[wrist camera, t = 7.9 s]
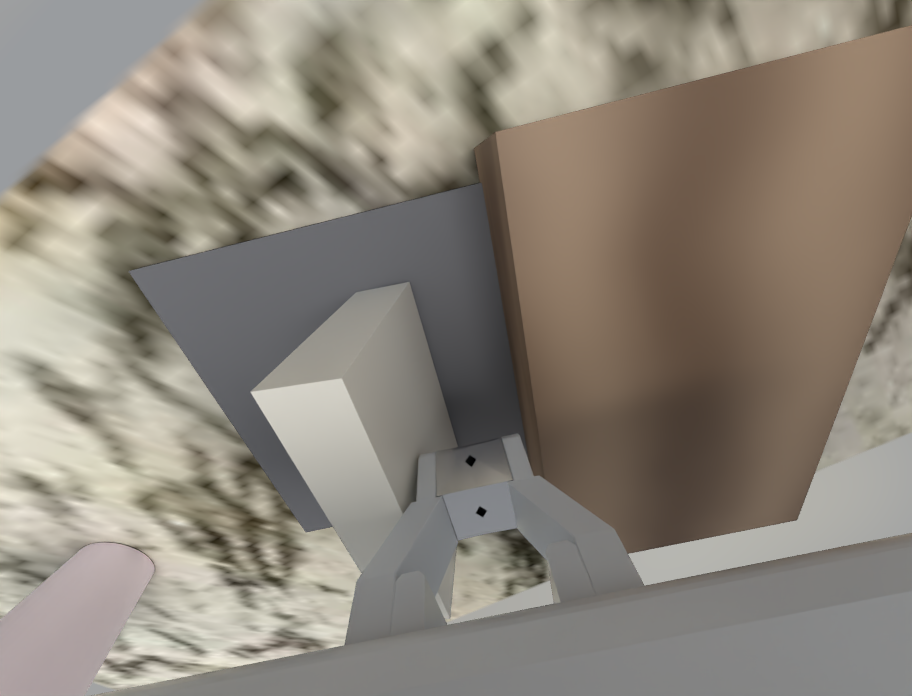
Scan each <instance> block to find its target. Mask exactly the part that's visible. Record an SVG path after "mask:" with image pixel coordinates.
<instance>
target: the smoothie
mask: <svg viewBox="0 0 912 696" xmlns="http://www.w3.org/2000/svg"><path fill="white" fill-rule="evenodd" d="M154 571H155V567H154V564H153V562H152V561H151V560H150V558H149V557H147V556H146V555H145V554H144V553H142V552H140V551H138V550H136V549H134V548H132V547H129V546H126V545H122V544H117V543H107V542H102V543H93V544H90V545H87V546H85V547H83V548H82V549H80V550H79V551H78V552H77V553H76V554H75V555H74V556H72V557H71V558H70V559H69V560H68V561H67V562H66V563H64V564H63V565H62V566H61V567H60V568H59V569H58V570H56V571H55V572H54V573H53V574H52V575H51V576H50V577H48V578H47V579H46V580H45V581H44V582H43V583H42V584H40V585H39V586H38V587H37V588H36V589H35V590H34V591H32V592H31V593H30V594H29V595H28V596H27V597H26V598H24V599H23V600H22V601H21V602H20V603H19V604H18V605H16V606H15V607H14V608H13V609H12V610H11V611H10V612H8V613H7V614H6V615H5V616H4V617H3V618H2V619H0V696H85V694H86V692H87V690H88V689H89V687H90V685H91V683H92V682H93V680H94V678H95V676H96V674H97V673H98V671H99V669H100V667H101V666H102V664H103V662H104V660H105V659H106V657H107V655H108V653H109V651H110V650H111V648H112V646H113V644H114V643H115V641H116V639H117V637H118V636H119V634H120V632H121V630H122V628H123V627H124V625H125V623H126V621H127V620H128V618H129V616H130V614H131V613H132V611H133V609H134V607H135V605H136V604H137V602H138V600H139V598H140V597H141V595H142V593H143V591H144V590H145V588H146V586H147V584H148V582H149V581H150V579H151V577H152V575H153V574H154Z"/></svg>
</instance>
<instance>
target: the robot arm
mask: <svg viewBox="0 0 912 696" xmlns="http://www.w3.org/2000/svg"><path fill="white" fill-rule="evenodd" d="M515 528H518V530H519V531H520V532H521V533H522V534H523V535H524V537H525V538H526V539H527V540H528V541H529V542H530V543H531V544H532V545H533V546H534V547H535V548H536V549H537V551H538V552H539V553H540V554H541V555H542V556H543V557H544V558H545V559H546V560H547V564H548V570H549V576H550V582H551V589H552V595H553V601H554V604H550V605H545V606H540V607H535V608H530V609H525V610H520V611H515V612H510V613H505V614H500V615H495V616H490V617H485V618H480V619H475V620H470V621H465V622H460V623H455V624H450V625H447V623H446V621H445V619H444V616H443V614H442V612H441V610H440V608H439V605H438V603H437V601H436V599H435V597H436V594H437V592H438V589H439V587H440V585H441V582H442V580H443V577H444V575H445V573H446V570H447V568H448V565H449V563H450V561H451V558H452V556H453V554H454V551H455V549H456V546H457V544H458V540H462V539H466V538H470V537H474V536H478V535H483V534H487V533H492V532H498V531H504V530H509V529H515ZM91 696H912V533H909V534H904V535H898V536H893V537H888V538H883V539H878V540H873V541H868V542H863V543H858V544H853V545H848V546H843V547H838V548H833V549H828V550H823V551H818V552H813V553H808V554H802V555H797V556H792V557H787V558H782V559H777V560H773V561H767V562H762V563H757V564H752V565H747V566H742V567H737V568H732V569H727V570H722V571H717V572H712V573H707V574H702V575H697V576H692V577H687V578H682V579H676V580H671V581H666V582H662V583H657V584H651V585H646V586H644V584H643V582H642V580H641V578H640V576H639V574H638V572H637V570H636V569H635V567H634V565H633V563H632V561H631V559H630V557H629V555H628V553H627V552H626V550H625V548H624V546H623V544H622V542H621V540H620V538H619V536H618V535H617V533H616V531H615V529H614V528H612V527H611V526H610V525H608V524H607V523H605V522H604V521H603V520H601V519H600V518H598V517H597V516H596V515H594V514H593V513H591V512H590V511H589V510H587V509H586V508H584V507H583V506H582V505H580V504H579V503H577V502H576V501H575V500H573V499H572V498H570V497H569V496H568V495H566V494H565V493H563V492H562V491H561V490H559V489H558V488H556V487H555V486H554V485H552V484H551V483H549V482H548V481H547V480H545V479H544V478H542V477H541V476H540V475H538V476H534V475H533V472H532V469H531V466H530V463H529V461H528V458H527V455H526V452H525V449H524V446H523V444H522V441H521V438H520V435H519V434H518V433H517V434H513V435H508V436H504V437H502V439H501V438H496V439H492V440H488V441H483V442H479V443H474V444H470V445H466V446H461V447H455V448H450V449H445V450H440V451H436V452H432V453H426V454H421V455H420V456H419V458H418V475H417V496H416V502H412V503H411V504H410V505H409V506H408V508H407V509H406V511H405V512H404V514H403V515H402V517H401V518H400V519H399V521H398V522H397V524H396V525H395V527H394V528H393V530H392V531H391V532H390V534H389V535H388V537H387V538H386V540H385V541H384V543H383V544H382V545H381V547H380V548H379V550H378V551H377V553H376V554H375V556H374V557H373V558H372V560H371V561H370V563H369V564H368V566H367V567H366V569H365V570H364V571H363V573H362V574H361V576H360V577H359V579H358V580H357V582H356V588H355V593H354V598H353V603H352V609H351V614H350V619H349V624H348V630H347V635H346V640H345V645H344V646H339V647H334V648H329V649H324V650H319V651H314V652H309V653H304V654H299V655H294V656H289V657H284V658H279V659H274V660H269V661H263V662H258V663H253V664H248V665H243V666H238V667H233V668H228V669H223V670H218V671H213V672H208V673H203V674H198V675H193V676H188V677H183V678H177V679H172V680H167V681H162V682H157V683H152V684H147V685H142V686H137V687H132V688H127V689H122V690H117V691H112V692H106V693H101V694H96V695H91Z"/></svg>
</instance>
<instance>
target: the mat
mask: <svg viewBox="0 0 912 696" xmlns="http://www.w3.org/2000/svg"><path fill="white" fill-rule="evenodd" d="M129 273H130V274H131V276H132V277H133V279H134V280H135V282H136V283H137V285H138V286H139V288H140V289H141V291H142V292H143V293H144V295H145V296H146V298H147V299H148V301H149V302H150V304H151V305H152V307H153V308H154V310H155V311H156V313H157V314H158V316H159V317H160V318H161V320H162V321H163V323H164V324H165V326H166V327H167V329H168V330H169V332H170V333H171V335H172V336H173V338H174V339H175V341H176V342H177V344H178V345H179V346H180V348H181V349H182V351H183V352H184V354H185V355H186V357H187V358H188V360H189V361H190V363H191V364H192V366H193V367H194V369H195V370H196V372H197V373H198V374H199V376H200V377H201V379H202V380H203V382H204V383H205V385H206V386H207V388H208V389H209V391H210V392H211V394H212V395H213V397H214V398H215V399H216V401H217V402H218V404H219V405H220V407H221V408H222V410H223V411H224V413H225V414H226V416H227V417H228V419H229V420H230V422H231V423H232V425H233V426H234V427H235V429H236V430H237V432H238V433H239V435H240V436H241V438H242V439H243V441H244V442H245V444H246V445H247V447H248V448H249V450H250V451H251V452H252V454H253V455H254V457H255V458H256V460H257V461H258V463H259V464H260V466H261V467H262V469H263V470H264V472H265V473H266V475H267V476H268V478H269V479H270V480H271V482H272V483H273V485H274V486H275V488H276V489H277V491H278V492H279V494H280V495H281V497H282V498H283V500H284V501H285V503H286V504H287V506H288V507H289V508H290V510H291V511H292V513H293V514H294V516H295V517H296V519H297V520H298V522H299V523H300V525H301V526H302V528H303V529H304V531H305V532H310V531H315V530H320V529H325V528H329V527H333V526H332V524H331V523H330V521H329V519H328V518H327V516H326V515H325V513H324V511H323V510H322V508H321V506H320V505H319V503H318V502H317V500H316V498H315V497H314V495H313V493H312V492H311V490H310V488H309V487H308V485H307V484H306V482H305V480H304V479H303V477H302V475H301V474H300V472H299V471H298V469H297V467H296V466H295V464H294V462H293V461H292V459H291V457H290V456H289V454H288V453H287V451H286V449H285V448H284V446H283V444H282V443H281V441H280V440H279V438H278V436H277V435H276V433H275V431H274V430H273V428H272V426H271V425H270V423H269V422H268V420H267V418H266V417H265V415H264V413H263V412H262V410H261V409H260V407H259V405H258V404H257V402H256V400H255V399H254V397H253V396H252V394H251V391H252V390H253V389H254V388H255V387H256V386H257V385H258V384H259V383H260V382H261V381H262V380H264V379H265V378H266V377H267V376H268V375H269V374H270V373H271V372H272V371H273V370H274V369H275V368H276V367H277V366H278V365H279V364H281V363H282V362H283V361H284V360H285V359H286V358H287V357H288V356H289V355H290V354H291V353H292V352H293V351H294V350H295V349H296V348H298V347H299V346H300V345H301V344H302V343H303V342H304V341H305V340H306V339H307V338H308V337H309V336H310V335H311V334H312V333H313V332H315V331H316V330H317V329H318V328H319V327H320V326H321V325H322V324H323V323H324V322H325V321H326V320H327V319H328V318H329V317H330V316H332V315H333V314H334V313H335V312H336V311H337V310H338V309H339V308H340V307H341V306H342V305H343V304H344V303H345V302H346V301H347V300H348V299H350V298H351V297H352V296H353V295H354V294H355V293H356V292H360V291H365V290H370V289H375V288H380V287H385V286H390V285H396V284H401V283H406V282H410V286H411V289H412V292H413V296H414V299H415V303H416V306H417V309H418V313H419V316H420V320H421V323H422V326H423V330H424V333H425V337H426V340H427V343H428V347H429V350H430V354H431V357H432V360H433V364H434V367H435V371H436V374H437V377H438V381H439V384H440V388H441V391H442V394H443V398H444V401H445V405H446V408H447V411H448V415H449V418H450V421H451V425H452V428H453V432H454V435H455V438H456V442H457V445H458V447H461V446H466V445H470V444H474V443H479V442H483V441H488V440H492V439H496V438H501V439H502V437H504V436H508V435H513V434H517V433H518V434H519V435H520V438H521V441H522V444H523V446H524V449H525V452H526V455H527V458H528V453H527V447H526V441H525V435H524V430H523V424H522V418H521V412H520V406H519V400H518V394H517V388H516V382H515V376H514V370H513V364H512V358H511V353H510V347H509V341H508V335H507V329H506V323H505V317H504V311H503V305H502V299H501V293H500V287H499V281H498V276H497V270H496V264H495V258H494V252H493V246H492V240H491V234H490V228H489V222H488V216H487V210H486V204H485V198H484V193H483V187H482V183H477V184H473V185H469V186H465V187H461V188H457V189H453V190H449V191H445V192H441V193H437V194H433V195H429V196H425V197H421V198H417V199H413V200H409V201H405V202H401V203H397V204H393V205H389V206H385V207H381V208H377V209H373V210H369V211H365V212H361V213H357V214H353V215H349V216H345V217H341V218H337V219H333V220H329V221H325V222H321V223H317V224H313V225H309V226H305V227H301V228H297V229H293V230H289V231H285V232H281V233H277V234H273V235H269V236H265V237H261V238H257V239H253V240H249V241H245V242H241V243H237V244H233V245H229V246H225V247H221V248H217V249H213V250H209V251H205V252H201V253H197V254H193V255H190V256H186V257H182V258H178V259H174V260H170V261H166V262H162V263H158V264H154V265H150V266H146V267H142V268H138V269H135V270H131V271H129ZM528 461H529V459H528Z"/></svg>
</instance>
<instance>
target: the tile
mask: <svg viewBox="0 0 912 696" xmlns="http://www.w3.org/2000/svg"><path fill="white" fill-rule="evenodd" d="M251 394H252V396H253V397H254V399H255V400H256V402H257V404H258V405H259V407H260V409H261V410H262V412H263V413H264V415H265V417H266V418H267V420H268V422H269V423H270V425H271V426H272V428H273V430H274V431H275V433H276V435H277V436H278V438H279V440H280V441H281V443H282V444H283V446H284V448H285V449H286V451H287V453H288V454H289V456H290V457H291V459H292V461H293V462H294V464H295V466H296V467H297V469H298V471H299V472H300V474H301V475H302V477H303V479H304V480H305V482H306V484H307V485H308V487H309V488H310V490H311V492H312V493H313V495H314V497H315V498H316V500H317V502H318V503H319V505H320V506H321V508H322V510H323V511H324V513H325V515H326V516H327V518H328V519H329V521H330V523H331V524H332V526H333V528H334V529H335V531H336V533H337V534H338V536H339V537H340V539H341V541H342V542H343V544H344V546H345V547H346V549H347V550H348V552H349V554H350V555H351V557H352V559H353V560H354V562H355V564H356V565H357V567H358V568H359V570H360V572H361V573H363V571H364V570H365V569H366V567H367V566H368V564H369V563H370V561H371V560H372V558H373V557H374V556H375V554H376V553H377V551H378V550H379V548H380V547H381V545H382V544H383V543H384V541H385V540H386V538H387V537H388V535H389V534H390V532H391V531H392V530H393V528H394V527H395V525H396V524H397V522H398V521H399V519H400V518H401V517H402V515H403V514H404V512H405V511H406V509H407V508H408V506H409V505H410V504H411V503H412V502H416V496H417V475H418V458H419V456H420V455H421V454H426V453H432V452H436V451H440V450H445V449H450V448H455V447H458V445H457V442H456V438H455V435H454V432H453V428H452V425H451V421H450V418H449V415H448V411H447V408H446V405H445V401H444V398H443V394H442V391H441V388H440V384H439V381H438V377H437V374H436V371H435V367H434V364H433V360H432V357H431V354H430V350H429V347H428V343H427V340H426V337H425V333H424V330H423V326H422V323H421V320H420V316H419V313H418V309H417V306H416V303H415V299H414V296H413V292H412V289H411V286H410V282H406V283H401V284H396V285H390V286H385V287H380V288H375V289H370V290H365V291H360V292H356V293H355V294H354V295H353V296H352V297H351V298H350V299H348V300H347V301H346V302H345V303H344V304H343V305H342V306H341V307H340V308H339V309H338V310H337V311H336V312H335V313H334V314H333V315H332V316H330V317H329V318H328V319H327V320H326V321H325V322H324V323H323V324H322V325H321V326H320V327H319V328H318V329H317V330H316V331H315V332H313V333H312V334H311V335H310V336H309V337H308V338H307V339H306V340H305V341H304V342H303V343H302V344H301V345H300V346H299V347H298V348H296V349H295V350H294V351H293V352H292V353H291V354H290V355H289V356H288V357H287V358H286V359H285V360H284V361H283V362H282V363H281V364H279V365H278V366H277V367H276V368H275V369H274V370H273V371H272V372H271V373H270V374H269V375H268V376H267V377H266V378H265V379H264V380H262V381H261V382H260V383H259V384H258V385H257V386H256V387H255V388H254V389H253V390H252V391H251ZM456 548H457V546H456ZM455 559H456V549H455V551H454V554H453V556H452V558H451V561H450V563H449V565H448V568H447V570H446V573H445V575H444V577H443V580H442V582H441V585H440V587H439V589H438V592H437V594H436V597H435V599H436V601H437V603H438V605H439V608H440V610H441V612H442V614H443V616H444V619H450V616H451V604H452V593H453V582H454V570H455Z"/></svg>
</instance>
